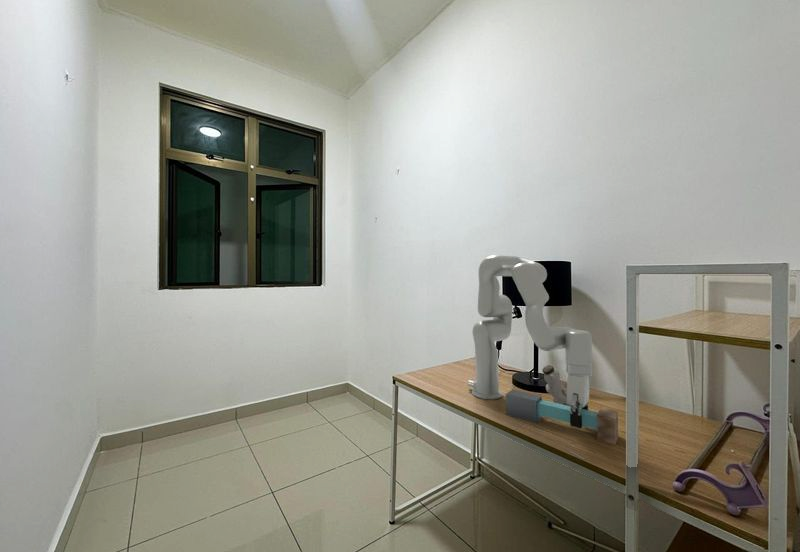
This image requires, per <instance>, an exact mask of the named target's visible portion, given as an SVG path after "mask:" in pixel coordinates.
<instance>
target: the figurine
mask: <svg viewBox="0 0 800 552" xmlns="http://www.w3.org/2000/svg"><path fill="white" fill-rule="evenodd" d="M542 373H543V374H544V381H545V382H546V383H547V384H546V385H545V390H546V392H547V393H548V394H550V395H551V397H552V402H553V403H558V404H562V405H566V404H567V388H565V386H564V383H563V382H562V380H561V379H560V377H561V375H560V372H559V370H557V369H556V368H554V367H553V365H546V366H544V367H543V368H542Z"/></svg>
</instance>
